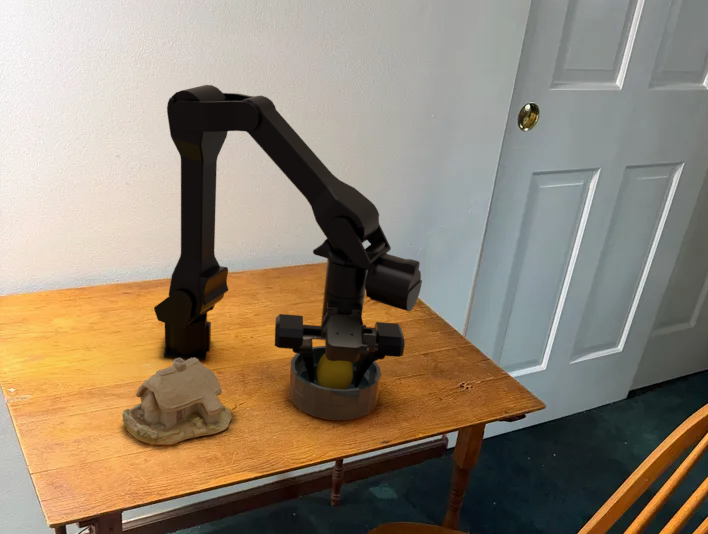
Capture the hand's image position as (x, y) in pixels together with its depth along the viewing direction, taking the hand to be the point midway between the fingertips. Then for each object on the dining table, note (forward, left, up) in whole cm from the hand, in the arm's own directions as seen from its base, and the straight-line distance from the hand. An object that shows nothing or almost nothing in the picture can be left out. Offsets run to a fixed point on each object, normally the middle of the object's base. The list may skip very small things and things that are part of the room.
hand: (333, 385), depth 120 cm
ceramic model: (-22, -9, -3) cm, 24 cm away
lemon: (0, 0, -2) cm, 2 cm away
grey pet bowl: (0, 0, -2) cm, 2 cm away
